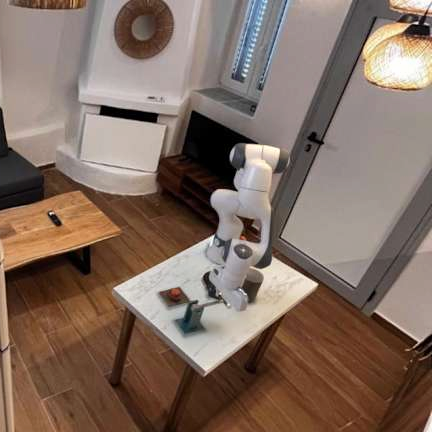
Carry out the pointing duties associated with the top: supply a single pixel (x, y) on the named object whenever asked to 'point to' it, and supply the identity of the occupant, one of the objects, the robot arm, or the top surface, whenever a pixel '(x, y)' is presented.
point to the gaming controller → (212, 291)
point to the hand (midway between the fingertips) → (223, 301)
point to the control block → (173, 300)
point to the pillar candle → (252, 283)
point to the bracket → (191, 319)
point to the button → (175, 292)
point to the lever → (209, 303)
